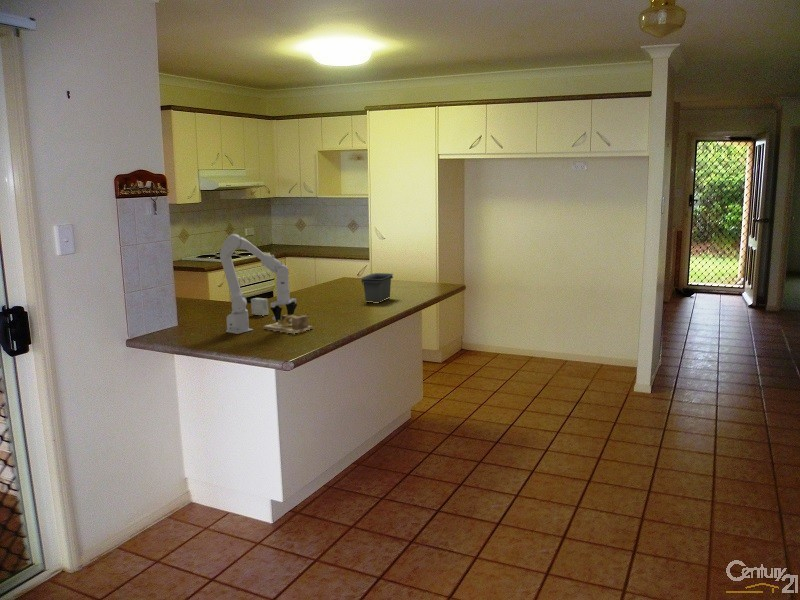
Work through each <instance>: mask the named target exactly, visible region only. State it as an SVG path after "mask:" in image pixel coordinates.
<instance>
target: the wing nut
mask: <svg viewBox="0 0 800 600" xmlns="http://www.w3.org/2000/svg"><path fill="white" fill-rule="evenodd" d="M294 317H298V315H295V314H288V313H286V314H283V315H282V314H281V318H282V319H279V320H278V322H277V323H278V325H282V326H284V327H288V326H292V323H288V318H291V319H292V318H294Z"/></svg>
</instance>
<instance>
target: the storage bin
mask: <svg viewBox="0 0 800 600" xmlns="http://www.w3.org/2000/svg"><path fill="white" fill-rule="evenodd" d="M393 276H394V274H393V273H387V272H386V273H385V272H383V273H382V272H379V273H378V272H377V273H376V272H374V273H370V274H368V275H365V276H362V277H361V278H360V279H361V285H362V286H363V290H364V298H365V299H364V301H365V302H366V301H373V302H380V301H382V300H384V299H386V298H388V297H390V298H391V284H392V283H391V282H392V279H393V278H394V277H393Z"/></svg>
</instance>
